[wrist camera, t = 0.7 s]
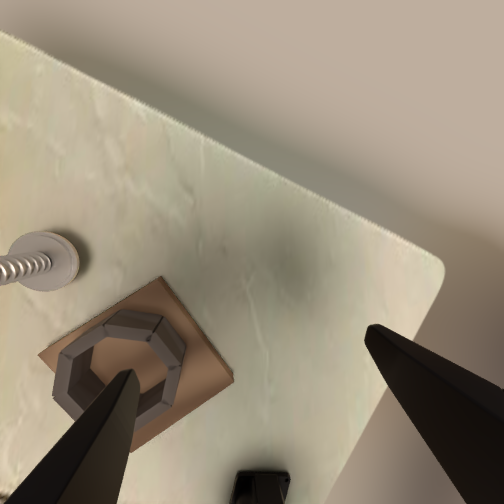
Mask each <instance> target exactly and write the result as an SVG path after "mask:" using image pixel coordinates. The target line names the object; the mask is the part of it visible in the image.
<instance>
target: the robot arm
mask: <svg viewBox="0 0 504 504" xmlns="http://www.w3.org/2000/svg"><path fill="white" fill-rule="evenodd" d="M364 341H365V345H366V347H367V349H368V351H369V353H370V354H371V356H372V358H373V360H374V362H375V364H376V365H377V367H378V369H379V371H380V373H381V374H382V376H383V378H384V380H385V381H386V383H387V385H388V386H389V388H390V389H391V391H392V392H393V394H394V396H395V397H396V398H397V400H398V402H399V403H400V404H401V406H402V408H403V409H404V411H405V412H406V414H407V415H408V416H409V418H410V420H411V421H412V423H413V424H414V426H415V427H416V429H417V430H418V432H419V433H420V435H421V436H422V438H423V439H424V441H425V442H426V444H427V445H428V447H429V448H430V450H431V451H432V453H433V454H434V456H435V457H436V459H437V460H438V462H439V463H440V465H441V466H442V468H443V469H444V471H445V472H446V474H447V475H448V477H449V478H450V479H451V481H452V483H453V484H454V486H455V487H456V489H457V490H458V492H459V493H460V495H461V496H462V498H463V499H464V501H465V502H466V504H504V389H501V388H500V387H498V386H497V385H495V384H493V383H491V382H489V381H487V380H485V379H483V378H481V377H479V376H478V375H476V374H474V373H472V372H470V371H468V370H466V369H464V368H462V367H461V366H458V365H457V364H455V363H453V362H451V361H449V360H447V359H445V358H443V357H441V356H439V355H438V354H436V353H434V352H432V351H430V350H428V349H426V348H424V347H422V346H420V345H419V344H417V343H415V342H413V341H411V340H409V339H407V338H405V337H403V336H401V335H399V334H398V333H396V332H394V331H392V330H390V329H388V328H386V327H384V326H382V325H380V324H373V325H369V326H368V328H367V331H366V335H365V339H364ZM139 395H140V382H139V379H138V377H137V375H136V372H135V370H134V369H126V370H121V371H120V372H118V373H117V374H116V376H115V377H114V378H113V379H112V380H111V381H110V382H109V384H108V385H107V386H106V387H105V388H104V389H103V390H102V392H101V393H100V394H99V395H98V396H97V397H96V398H95V400H94V401H93V402H92V403H91V404H90V405H89V406H88V408H87V409H86V410H85V411H84V412H83V413H82V414H81V416H80V417H79V418H78V419H77V420H76V421H75V422H74V424H73V425H72V426H71V427H70V428H69V429H68V430H67V432H66V433H65V434H64V435H63V436H62V437H61V438H60V440H59V441H58V442H57V443H56V444H55V445H54V446H53V448H52V449H51V450H50V451H49V452H48V453H47V454H46V456H45V457H44V458H43V459H42V460H41V461H40V462H39V463H38V465H37V466H36V467H35V468H34V469H33V470H32V471H31V473H30V474H29V475H28V476H27V477H26V478H25V479H24V481H23V482H22V483H21V484H20V485H19V486H18V487H17V489H16V490H15V491H14V492H13V493H12V494H11V495H10V497H9V498H8V499H7V500H6V501H5V502H4V503H3V504H117V500H118V496H119V492H120V488H121V484H122V480H123V476H124V472H125V468H126V464H127V460H128V456H129V452H130V448H131V444H132V439H133V433H134V427H135V420H136V414H137V407H138V401H139ZM290 480H291V479H290V475H289V473H278V472H239V473H238V474H237V475H236V479H235V483H234V487H233V491H232V496H231V500H230V504H285V499H286V495H287V492H288V488H289V484H290Z"/></svg>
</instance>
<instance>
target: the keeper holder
mask: <svg viewBox="0 0 504 504" xmlns="http://www.w3.org/2000/svg"><path fill="white" fill-rule="evenodd" d="M38 356H39V357H40V358H41V359H42V360H43V361H44V362H45V363H46V364H47V366H48V367H49V368H50V369H51V370H52V371H53V372H54V373H55V380H54V386H53V392H52V396H55V397H54V398H53V399H54V400H55V401H56V402H57V403H58V404H59V405H60V406H61V407H62V408H63V409H64V410H65V411H66V412H67V413H68V415H69V416H70V417H71V418H72V419H73V420H74V421H76V420H77V419H78V418H79V417H80V416H81V414H82V413H83V412H84V411H85V410H86V409H87V408H88V406H89V405H90V404H91V403H92V402H93V401H94V400H95V398H96V397H97V396H98V395H99V394H100V393H101V392H102V390H103V389H104V388H105V387H106V386H107V385H108V384H109V382H110V381H111V380H112V379H113V378H114V377H115V376H116V374H117V373H118V372H120V371H121V370H126V369H134V370H135V372H136V375H137V377H138V379H139V382H140V395H139V401H138V407H137V414H136V420H135V427H134V433H133V439H132V444H131V448H130V453H132V452H133V451H135V450H136V449H138V448H139V447H141V446H142V445H144V444H145V443H146V442H148V441H149V440H151V439H152V438H154V437H155V436H157V435H158V434H159V433H161V432H162V431H164V430H165V429H167V428H168V427H170V426H171V425H173V424H174V423H175V422H177V421H178V420H180V419H181V418H183V417H184V416H186V415H187V414H188V413H190V412H191V411H193V410H194V409H196V408H197V407H199V406H200V405H202V404H203V403H204V402H206V401H207V400H209V399H210V398H212V397H213V396H215V395H216V394H218V393H219V392H220V391H222V390H223V389H225V388H226V387H228V386H229V385H231V384H232V383H233V382H234V377H233V373H232V372H231V370H230V369H229V368H228V366H227V365H226V364H225V362H224V361H223V360H222V358H221V357H220V356H219V354H218V353H217V351H216V350H215V349H214V347H213V346H212V345H211V343H210V342H209V341H208V339H207V338H206V337H205V335H204V334H203V333H202V331H201V330H200V328H199V327H198V326H197V324H196V323H195V322H194V320H193V319H192V318H191V316H190V315H189V314H188V312H187V311H186V310H185V308H184V307H183V305H182V304H181V303H180V301H179V300H178V299H177V297H176V296H175V295H174V293H173V292H172V291H171V289H170V288H169V287H168V285H167V284H166V282H165V281H164V280H163V278H162V277H161V276H160V277H159V278H157V279H156V280H154V281H152V282H151V283H149V284H148V285H146V286H144V287H143V288H141V289H140V290H138V291H136V292H135V293H133V294H132V295H130V296H129V297H127V298H125V299H124V300H122V301H121V302H119V303H117V304H116V305H114V306H113V307H111V308H109V309H108V310H106V311H105V312H103V313H102V314H100V315H98V316H97V317H95V318H94V319H92V320H90V321H89V322H87V323H86V324H84V325H83V326H81V327H79V328H78V329H76V330H75V331H73V332H71V333H70V334H68V335H67V336H65V337H63V338H62V339H60V340H59V341H57V342H56V343H54V344H52V345H51V346H49V347H48V348H46V349H45V350H43V351H42V352H41V353H39V354H38Z"/></svg>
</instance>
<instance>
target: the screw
mask: <svg viewBox="0 0 504 504" xmlns="http://www.w3.org/2000/svg"><path fill="white" fill-rule="evenodd" d="M79 262H80V261H79V256H78V253H77V251H76V249H75V248H74V246H73V245H72V244H71V243H70V242H69V241H68V240H67V239H66V238H64V237H62V236H60V235H58V234H55V233H52V232H46V231H42V232H31V233H27V234H25V235H23V236H21V237H19V238H18V239H17V240H15V242H14V243H13V244H12V245H11V247H10V249H9V252H8V255H6V256H0V286H1V285H6V284H9V283H14V282H17V281H18V282H19V283H21V284H22V285H24V286H25V287H27V288H30V289H32V290H36V291H54V290H57V289H60V288H62V287H65V286H66V285H68V284H69V283H70V282H71V281H72V280H73V279H74V278H75V277H76V275H77V273H78V270H79Z"/></svg>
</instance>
